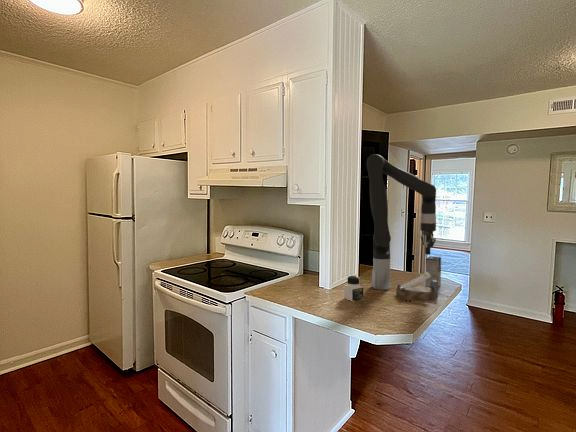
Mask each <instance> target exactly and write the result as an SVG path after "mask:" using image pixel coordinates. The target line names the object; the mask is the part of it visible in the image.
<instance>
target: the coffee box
mask: <svg viewBox="0 0 576 432" xmlns="http://www.w3.org/2000/svg"><path fill="white" fill-rule="evenodd" d="M425 272H428V273H430V275H431V277H430V278H428V279H425V287H429V288H431V280H436V281H438V287H440V285H441V282H442V281H441V280H442V276H441V275H442V274H441V273H442V257H441V256H432V255H430V256H428V257H427V258H425Z"/></svg>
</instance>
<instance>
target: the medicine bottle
mask: <svg viewBox="0 0 576 432" xmlns="http://www.w3.org/2000/svg"><path fill="white" fill-rule="evenodd" d="M360 280H361V278H360V277H359V276H358V275H350V276H347V284H345V285H343V299H344V298H345V299H344V300H346V299H347V300H346V301H348V300H350V301H352V302H353V303H356V302H355V301H358V302H361V300H362V301H364V286H362V285H360V284H361V281H360ZM350 301H349V302H350ZM352 302H351V303H352Z"/></svg>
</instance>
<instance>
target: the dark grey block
mask: <svg viewBox="0 0 576 432" xmlns="http://www.w3.org/2000/svg"><path fill="white" fill-rule="evenodd" d="M430 288H431V289H432V290H434V291H435V292H436V298H438V296H439V295H438V294H439V291H438V290H439V289H438V288H439V286H438V281H436V280H431V287H430Z"/></svg>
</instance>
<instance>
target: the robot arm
mask: <svg viewBox="0 0 576 432" xmlns="http://www.w3.org/2000/svg"><path fill="white" fill-rule="evenodd" d="M366 169H367V173H368V174H367V175H368V179H369V203H370V212H371V216H372V218H373V225H374V226H373V228H374V231H373V235H372V237H373V238H372V248H373V249H372V257H373V259H372V262H373V265H372V270H371V271H372V272H371V273H372V274H371V286H372V287H373V289H374V290H382V291H385V290H390V289H391V248H390V247H391V240H392V239H391V234H390V229H389V222H388V221H389V219H388V216H389V208H388V207H389V203H388V201H389V200H388V193H387V189H386V185H385V182H384V176H383V174H384V175H386V176H388V177H390V178H392V179H393V180H395V181H396V182H397V183H399V184H401V185H403V186H404V187H406V188H408V189H411V190H413V191H414V192H416V193H418V194H419V195H421V207H420V210H421V211H420V212H421V213H420V231H421V232H422V235H420V240H421V242H422V246H423V247H424V254H425V255H430V256H431V248H433V247H434V245H435V242H436V241H437V238H434V232H436V231H437V214H436V213H437V211H436V210H437V207H436V206H437V205H436V202H437V201H436V198H437V188H436V186H435V185H434V184H432V183H429V182H427V181H425V180H422V179H421V178H419V177H418V176H416V175H415V174H413V173H410V172H409V171H406V170H404V169H402V168H400V167H398V166H395V165H394V164H393V163H391V162H389V161H388V160H386V159H385V158H384V157H383V156H382V155H380V154H376V153H374V154H371V155H369V156H368V157H367V160H366Z"/></svg>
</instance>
